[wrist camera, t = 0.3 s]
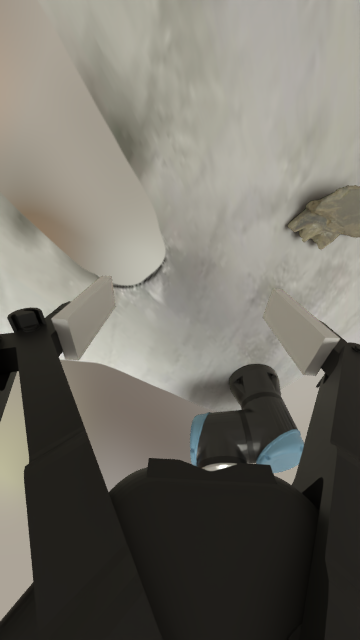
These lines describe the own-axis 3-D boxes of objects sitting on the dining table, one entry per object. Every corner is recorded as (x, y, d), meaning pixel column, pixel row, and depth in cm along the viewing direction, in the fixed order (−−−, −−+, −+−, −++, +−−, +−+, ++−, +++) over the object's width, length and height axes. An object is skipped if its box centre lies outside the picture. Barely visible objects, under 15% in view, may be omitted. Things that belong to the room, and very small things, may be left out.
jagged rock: (305, 188, 36) (278, 235, 37) (356, 144, 26) (318, 212, 27) (364, 223, 37) (337, 268, 38) (436, 195, 27) (396, 258, 28)
